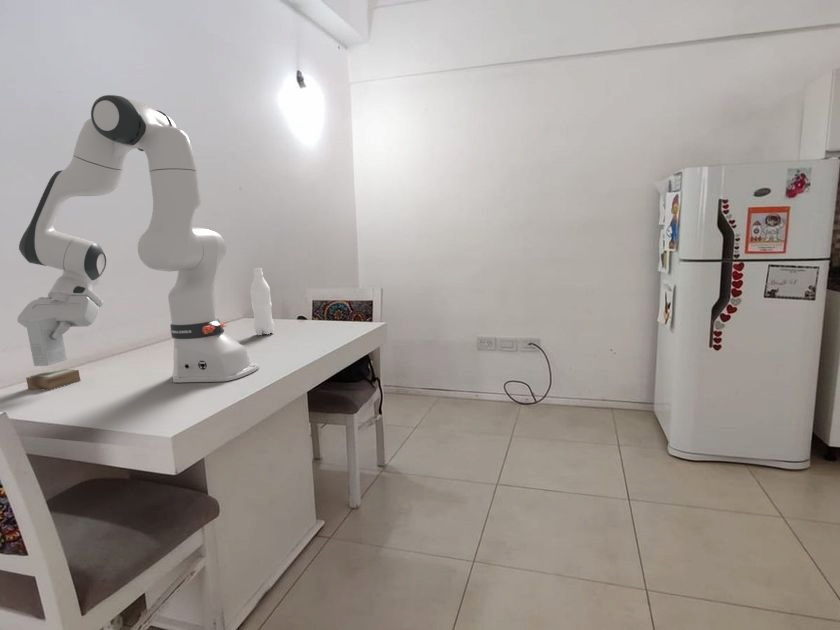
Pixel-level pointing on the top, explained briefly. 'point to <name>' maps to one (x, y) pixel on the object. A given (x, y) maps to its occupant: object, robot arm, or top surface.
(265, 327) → the water bottle
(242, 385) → the top surface
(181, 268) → the robot arm
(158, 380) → the top surface
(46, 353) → the skincare box
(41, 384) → the walnut block
